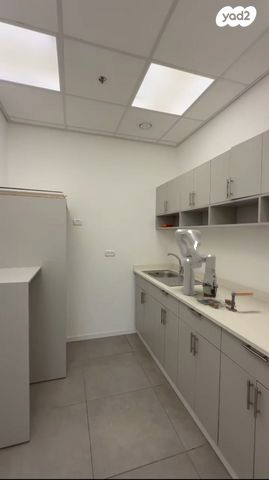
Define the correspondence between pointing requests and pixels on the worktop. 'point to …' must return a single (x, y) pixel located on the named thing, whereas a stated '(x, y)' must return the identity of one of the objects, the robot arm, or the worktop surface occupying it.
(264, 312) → the worktop surface
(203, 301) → the mat
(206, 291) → the food container
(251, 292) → the tall wooden post
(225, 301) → the wooden blocks
